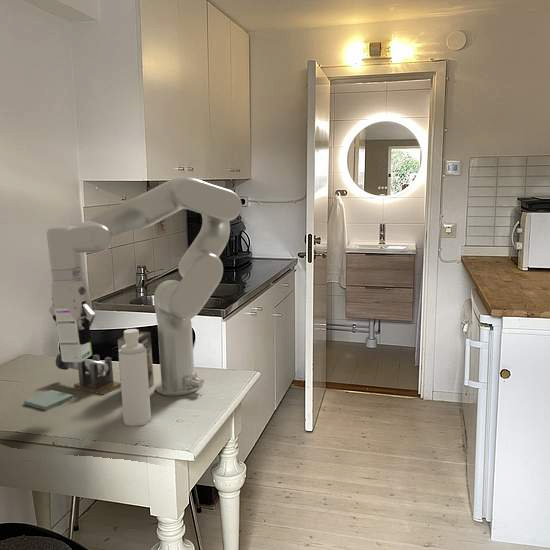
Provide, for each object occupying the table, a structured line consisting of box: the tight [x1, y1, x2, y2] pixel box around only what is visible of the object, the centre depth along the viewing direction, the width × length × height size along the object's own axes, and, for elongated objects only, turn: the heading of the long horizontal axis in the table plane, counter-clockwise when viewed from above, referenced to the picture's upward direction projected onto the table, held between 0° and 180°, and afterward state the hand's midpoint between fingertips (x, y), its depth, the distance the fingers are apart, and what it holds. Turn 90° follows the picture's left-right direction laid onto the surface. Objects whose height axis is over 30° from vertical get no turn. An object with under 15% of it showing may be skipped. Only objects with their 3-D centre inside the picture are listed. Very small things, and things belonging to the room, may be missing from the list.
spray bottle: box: [117, 328, 152, 427], centre depth 141 cm, size 7×7×25 cm
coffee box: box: [117, 331, 155, 395], centre depth 163 cm, size 9×6×16 cm
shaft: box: [55, 352, 109, 375], centre depth 169 cm, size 18×5×5 cm, turn 60°
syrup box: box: [55, 307, 93, 362], centre depth 147 cm, size 6×6×14 cm
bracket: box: [73, 354, 121, 395], centre depth 166 cm, size 12×7×8 cm, turn 60°
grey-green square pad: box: [23, 389, 74, 411], centre depth 157 cm, size 9×9×1 cm
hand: (75, 340), depth 148 cm, fingers closed on syrup box, 7 cm apart
